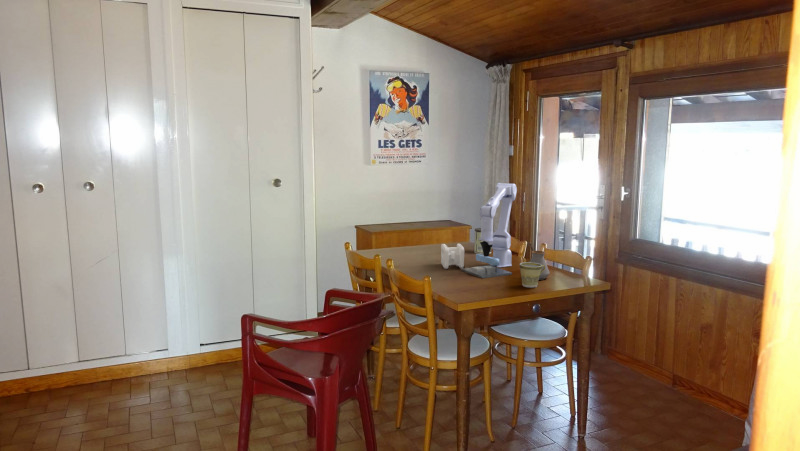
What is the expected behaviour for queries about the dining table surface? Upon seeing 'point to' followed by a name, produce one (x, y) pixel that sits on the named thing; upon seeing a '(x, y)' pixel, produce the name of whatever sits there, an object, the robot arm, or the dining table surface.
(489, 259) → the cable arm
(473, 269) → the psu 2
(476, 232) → the coffee can
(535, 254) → the coffee pot
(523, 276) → the ceramic cup
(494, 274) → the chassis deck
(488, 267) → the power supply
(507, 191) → the robot arm
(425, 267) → the dining table surface
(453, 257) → the cable organizer
